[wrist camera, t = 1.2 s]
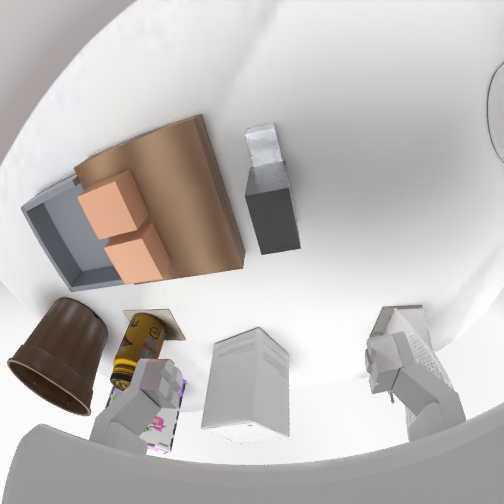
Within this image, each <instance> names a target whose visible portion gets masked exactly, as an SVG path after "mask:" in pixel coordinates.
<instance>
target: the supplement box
mask: <svg viewBox="0 0 504 504" xmlns="http://www.w3.org/2000/svg"><path fill="white" fill-rule="evenodd" d="M201 429H203V430H206V431H208V432H211V433H213V434H216V435H218V436H220V437H223V438H226V439H228V440H231V441H233V442H236V443H239V444H249V443H256V442H264V441H273V440H280V439H285V438H289V367H288V353H286V352H285V351H284V350H283V349H282V348H281V347H280V346H279V345H278V344H276V343H275V342H274V341H273V340H272V339H271V338H270V337H269V336H268V335H267V334H265V333H264V332H263V331H262V330H261V329H260V328H257V329H254V330H251V331H249V332H246V333H244V334H241V335H238V336H235V337H233V338H230V339H227V340H225V341H222V342H219V343H216V344H215V346H214V352H213V358H212V364H211V369H210V375H209V381H208V388H207V394H206V400H205V406H204V412H203V418H202V425H201Z"/></svg>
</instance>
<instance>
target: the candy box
mask: <svg viewBox="0 0 504 504" xmlns="http://www.w3.org/2000/svg"><path fill="white" fill-rule="evenodd" d="M185 384H186V381H184V380H183V383H182V388H181V389H180V390H179V391H178V394H179V396H180V398H179V403H178V408H177V409H172V408H161V410H160V411H159V412H158V414H157V415H156V416H155V418H154V419H153V420H152V421H151V423H150V424H149V425H148V426H147V428H146V429H145V430H144V431H143V433H142V434H141V435H140V436H139V437H140V438H142V439H143V440H145V441H147V443H148V447H147V449H150V450H153V451H156V452H158V453H161V454H165V453H168V452H171V449H172V443H173V439H174V434H175V430H176V425H177V420H178V416H179V411H180V406H181V402H182V397H183V393H184V389H185ZM121 393H122V391H120V390H119V389H117V388H116V387H115V386H114V385H113V388H112V391H111V393H110V396H109V399H108V402H107V405H106V407H108V406H109V405H110V404H111V403H112V402H113V401H114V400H115V399H116V398H117V397H118V396H119V395H120V394H121ZM106 407H105V408H106Z"/></svg>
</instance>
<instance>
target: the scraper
mask: <svg viewBox="0 0 504 504" xmlns="http://www.w3.org/2000/svg"><path fill="white" fill-rule="evenodd" d="M245 138H246V141H247V145H248V149H249V152H250V156H251V160H252V163H253V167H251V168H250V173H249V178H248V183H247V188H246V193H245V198H246V202H247V205H248V209H249V212H250V216H251V219H252V223H253V226H254V230H255V233H256V237H257V240H258V244H259V247H260V251H261V254H262V255H265V254H271V253H277V252H283V251H289V250H295V249H301V246H300V239H299V232H298V226H297V219H296V212H295V207H294V202H293V197H292V192H291V187H290V182H289V178H288V173H287V168H286V164H285V161H283V160H282V155H281V151H280V146H279V142H278V138H277V134H276V129H275V125H274V123H270V124H265V125H260V126H255V127H251V128H247V130H246V133H245Z"/></svg>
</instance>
